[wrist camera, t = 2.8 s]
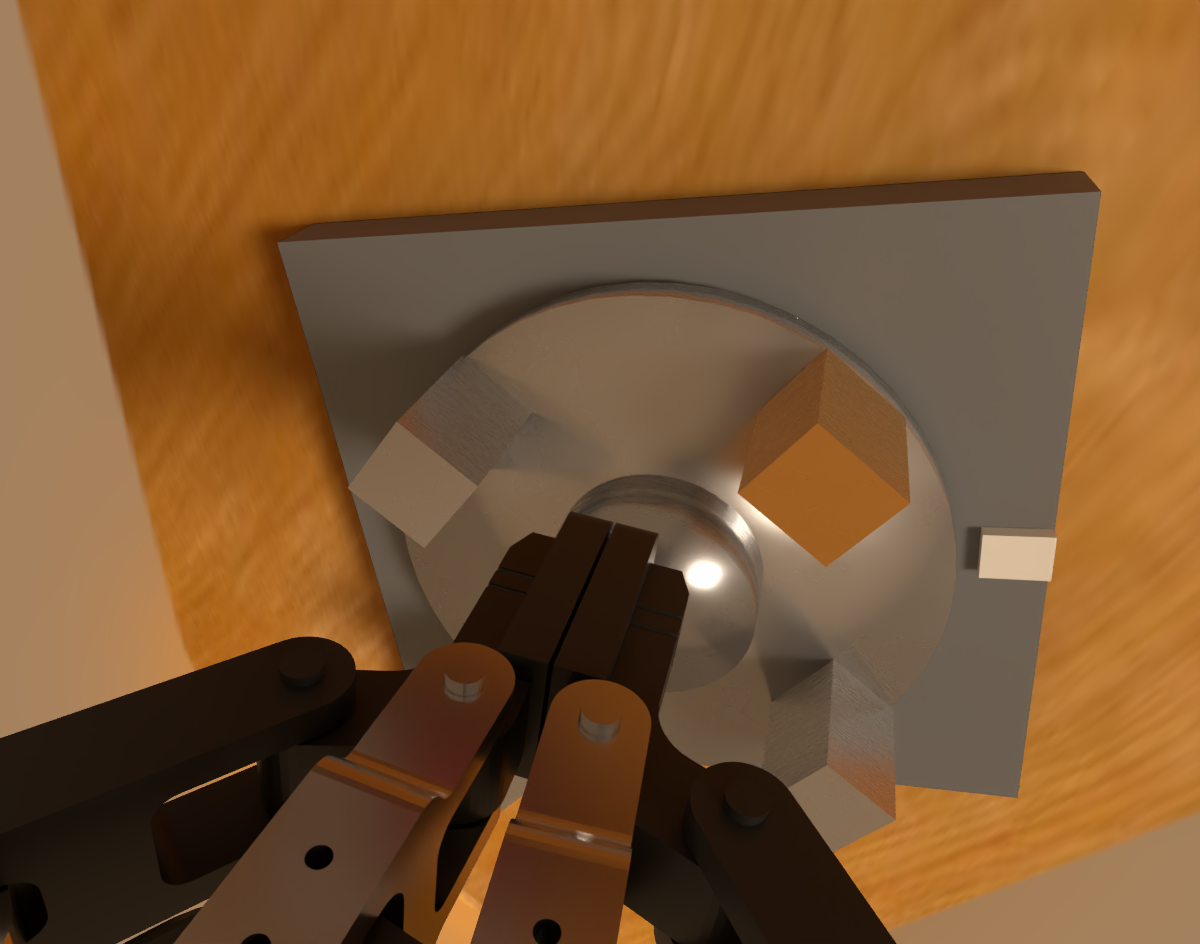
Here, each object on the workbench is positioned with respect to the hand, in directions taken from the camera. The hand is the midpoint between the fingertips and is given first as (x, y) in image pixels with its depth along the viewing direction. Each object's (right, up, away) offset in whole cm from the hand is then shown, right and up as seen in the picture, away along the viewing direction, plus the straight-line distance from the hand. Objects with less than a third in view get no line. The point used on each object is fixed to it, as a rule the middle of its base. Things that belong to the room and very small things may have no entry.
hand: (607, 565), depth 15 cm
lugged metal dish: (+2, 0, +12) cm, 12 cm away
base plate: (+2, +1, +14) cm, 14 cm away
